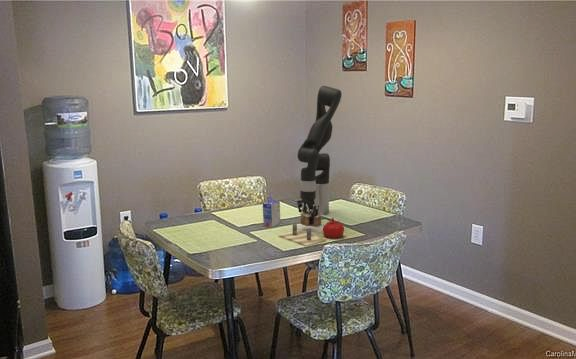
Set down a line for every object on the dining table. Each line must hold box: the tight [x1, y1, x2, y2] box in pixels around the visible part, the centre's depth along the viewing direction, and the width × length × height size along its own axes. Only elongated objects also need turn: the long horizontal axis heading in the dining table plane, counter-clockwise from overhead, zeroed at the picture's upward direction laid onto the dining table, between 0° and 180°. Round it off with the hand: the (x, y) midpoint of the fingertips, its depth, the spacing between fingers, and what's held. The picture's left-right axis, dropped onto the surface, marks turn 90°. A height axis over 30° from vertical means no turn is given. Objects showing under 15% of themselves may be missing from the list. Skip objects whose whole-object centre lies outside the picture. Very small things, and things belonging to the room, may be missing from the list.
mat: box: [297, 224, 325, 235], centre depth 268 cm, size 16×14×1 cm
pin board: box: [277, 223, 327, 248], centre depth 250 cm, size 20×12×6 cm, turn 40°
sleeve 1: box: [299, 210, 315, 226], centre depth 263 cm, size 5×5×6 cm
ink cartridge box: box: [262, 196, 281, 228], centre depth 274 cm, size 10×6×14 cm, turn 155°
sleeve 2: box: [311, 212, 323, 227], centre depth 272 cm, size 5×5×6 cm
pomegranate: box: [322, 217, 345, 239], centre depth 253 cm, size 10×10×9 cm
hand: (307, 222), depth 263 cm, fingers closed on sleeve 1, 5 cm apart
